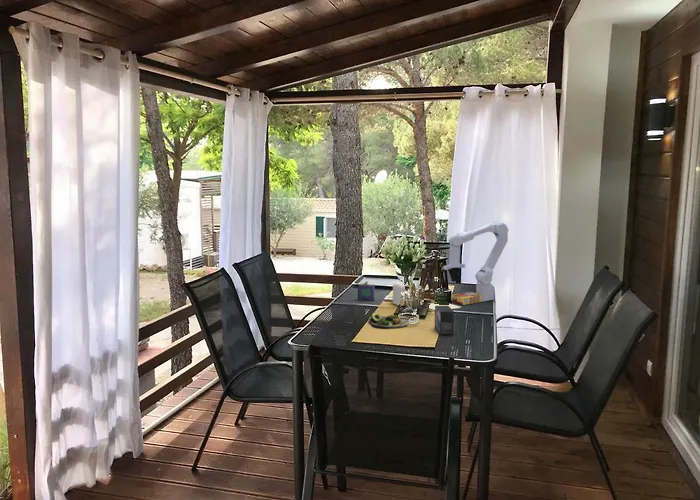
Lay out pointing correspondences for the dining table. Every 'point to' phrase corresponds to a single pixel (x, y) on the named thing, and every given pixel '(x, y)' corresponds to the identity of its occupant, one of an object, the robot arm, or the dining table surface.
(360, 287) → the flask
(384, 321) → the salad plate
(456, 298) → the candy box
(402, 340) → the dining table surface
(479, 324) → the dining table surface
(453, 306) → the mat
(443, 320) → the small box
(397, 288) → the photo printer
